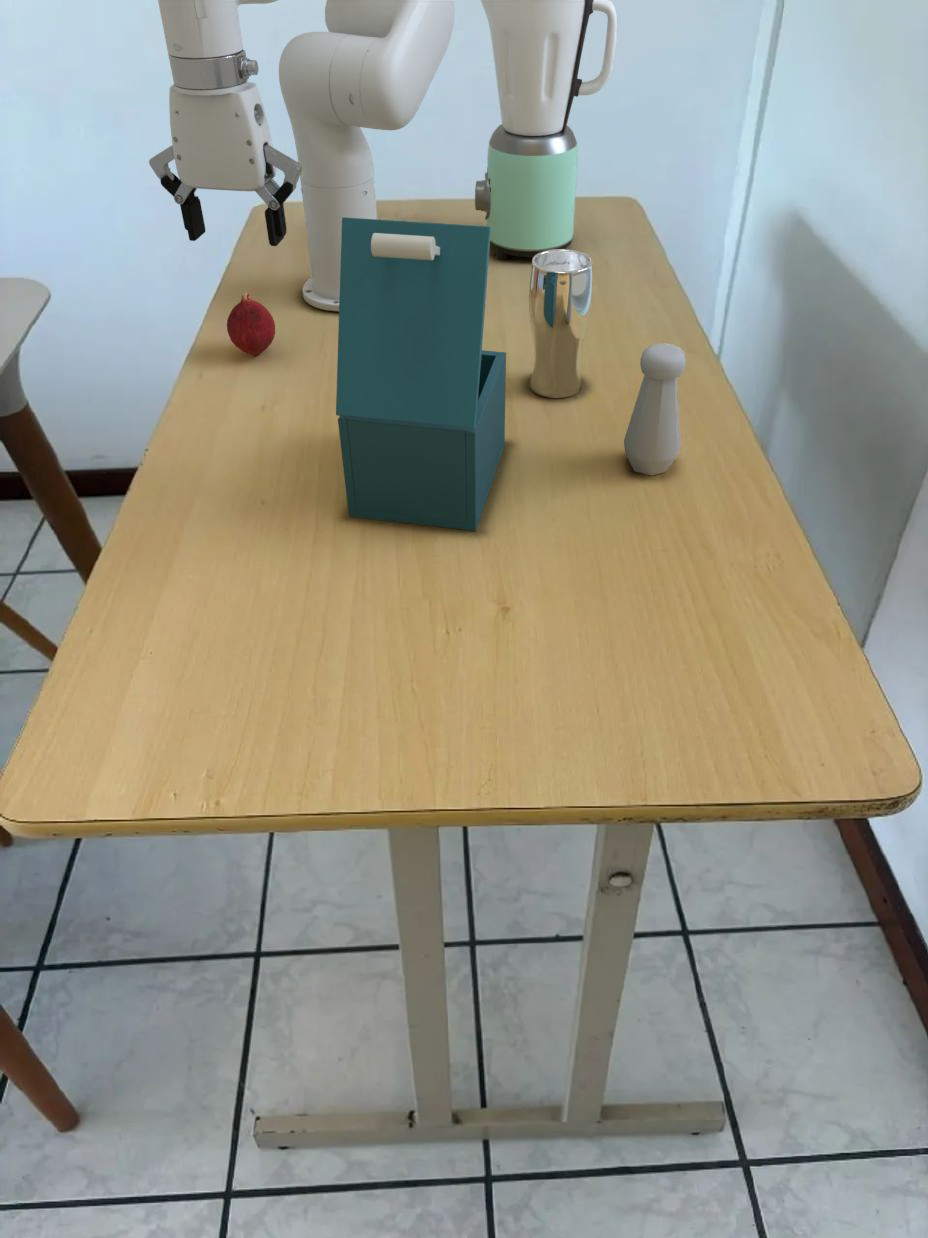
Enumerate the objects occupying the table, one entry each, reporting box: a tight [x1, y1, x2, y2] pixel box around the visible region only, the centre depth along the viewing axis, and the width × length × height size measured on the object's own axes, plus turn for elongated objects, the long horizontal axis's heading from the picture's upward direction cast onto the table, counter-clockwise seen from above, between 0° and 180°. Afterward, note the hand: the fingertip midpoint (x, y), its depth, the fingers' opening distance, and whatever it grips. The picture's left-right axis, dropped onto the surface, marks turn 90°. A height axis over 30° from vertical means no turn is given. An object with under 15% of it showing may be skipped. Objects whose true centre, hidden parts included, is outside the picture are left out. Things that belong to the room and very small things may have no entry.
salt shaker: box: [623, 342, 687, 476], centre depth 96 cm, size 6×6×13 cm
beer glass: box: [528, 248, 594, 399], centre depth 108 cm, size 7×7×15 cm
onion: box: [226, 291, 276, 357], centre depth 118 cm, size 6×6×8 cm
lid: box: [335, 217, 491, 429], centre depth 81 cm, size 17×13×5 cm
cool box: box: [337, 349, 507, 532], centre depth 95 cm, size 16×13×11 cm
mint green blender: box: [474, 0, 619, 260], centre depth 134 cm, size 19×13×35 cm
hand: (237, 239), depth 110 cm, fingers open, 9 cm apart
